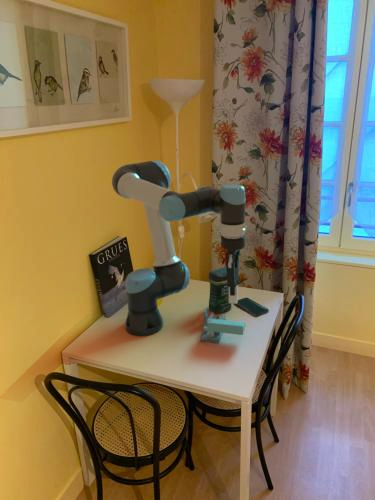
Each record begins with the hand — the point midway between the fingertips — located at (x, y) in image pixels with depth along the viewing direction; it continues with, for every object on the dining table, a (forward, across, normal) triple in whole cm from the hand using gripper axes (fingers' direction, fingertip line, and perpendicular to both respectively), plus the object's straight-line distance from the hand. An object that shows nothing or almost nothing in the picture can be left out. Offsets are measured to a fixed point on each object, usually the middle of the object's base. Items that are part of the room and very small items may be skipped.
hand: (233, 302), depth 134 cm
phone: (+22, +37, -1) cm, 43 cm away
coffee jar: (+22, +33, +11) cm, 41 cm away
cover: (+16, +10, +5) cm, 20 cm away
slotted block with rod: (+22, +15, +10) cm, 28 cm away
